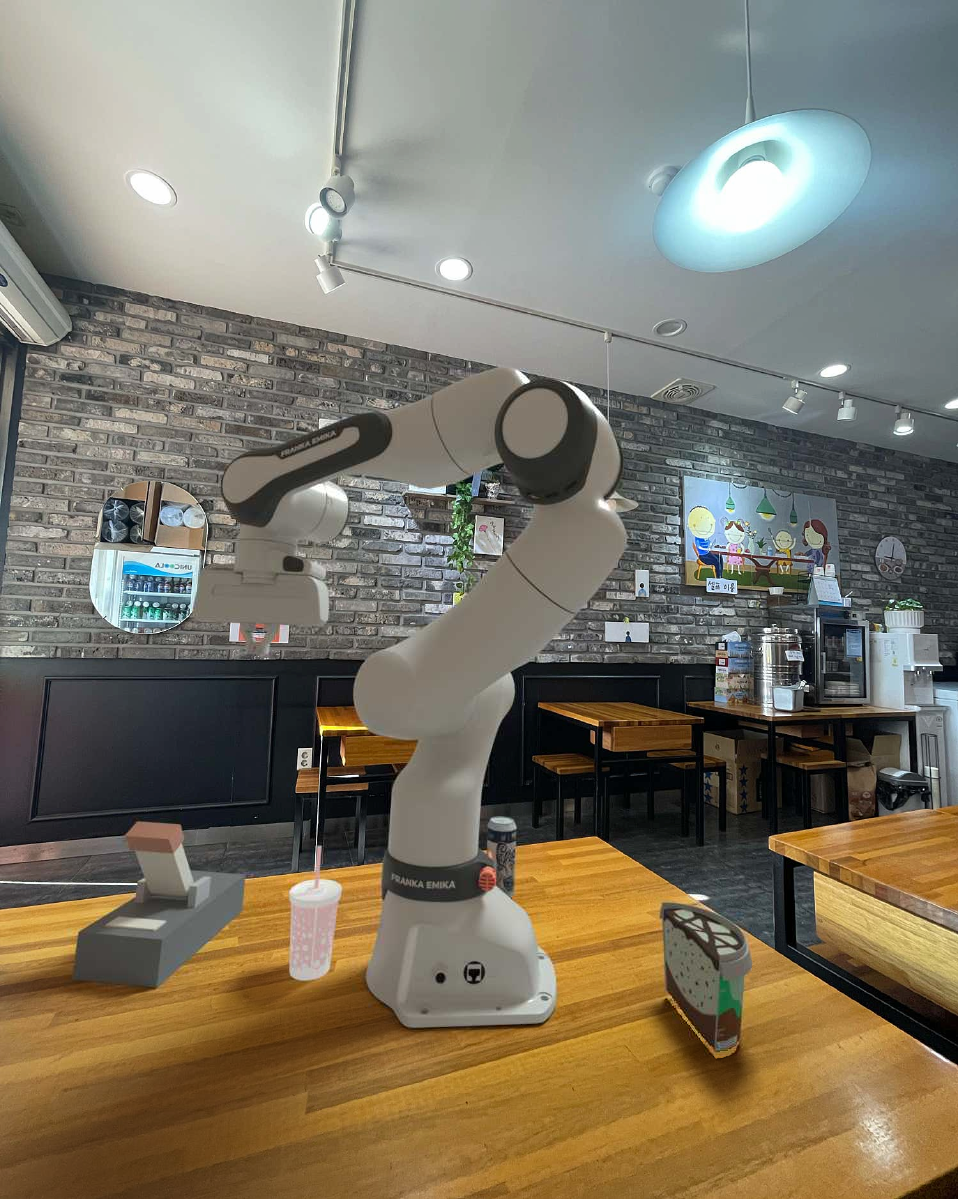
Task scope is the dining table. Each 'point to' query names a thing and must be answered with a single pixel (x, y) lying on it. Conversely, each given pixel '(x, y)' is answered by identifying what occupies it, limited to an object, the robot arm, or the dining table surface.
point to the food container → (706, 970)
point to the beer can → (503, 851)
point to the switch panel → (157, 931)
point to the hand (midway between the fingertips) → (257, 654)
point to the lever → (161, 858)
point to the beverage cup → (312, 925)
